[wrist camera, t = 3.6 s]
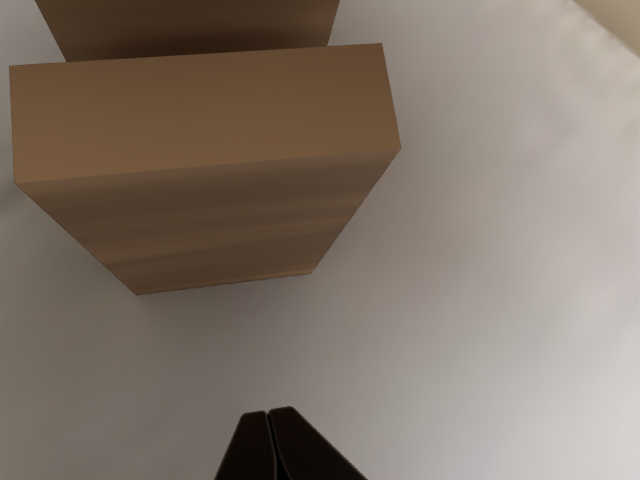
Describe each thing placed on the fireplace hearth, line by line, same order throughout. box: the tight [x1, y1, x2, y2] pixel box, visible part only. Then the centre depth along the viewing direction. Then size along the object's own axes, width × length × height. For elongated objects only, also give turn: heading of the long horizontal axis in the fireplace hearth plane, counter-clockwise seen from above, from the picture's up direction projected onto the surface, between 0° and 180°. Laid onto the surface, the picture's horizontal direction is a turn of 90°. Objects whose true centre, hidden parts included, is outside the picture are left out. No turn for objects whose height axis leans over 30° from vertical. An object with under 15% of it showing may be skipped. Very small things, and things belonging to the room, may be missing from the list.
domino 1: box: [9, 43, 401, 295], centre depth 13 cm, size 2×5×10 cm, turn 98°
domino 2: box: [35, 0, 340, 62], centre depth 14 cm, size 2×5×10 cm, turn 98°
